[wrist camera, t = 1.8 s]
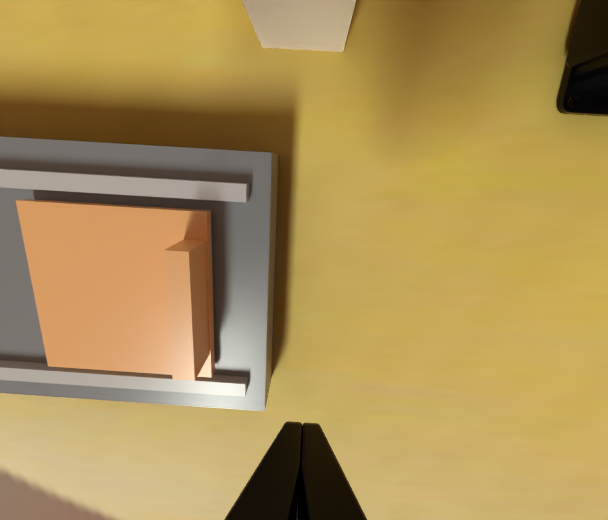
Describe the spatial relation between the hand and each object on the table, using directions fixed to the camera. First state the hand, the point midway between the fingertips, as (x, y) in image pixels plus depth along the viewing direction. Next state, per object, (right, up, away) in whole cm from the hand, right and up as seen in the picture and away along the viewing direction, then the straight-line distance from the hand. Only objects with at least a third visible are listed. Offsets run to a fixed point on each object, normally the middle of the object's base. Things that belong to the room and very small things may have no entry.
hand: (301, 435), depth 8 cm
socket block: (-13, +4, +11) cm, 17 cm away
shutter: (-9, +3, +8) cm, 12 cm away
